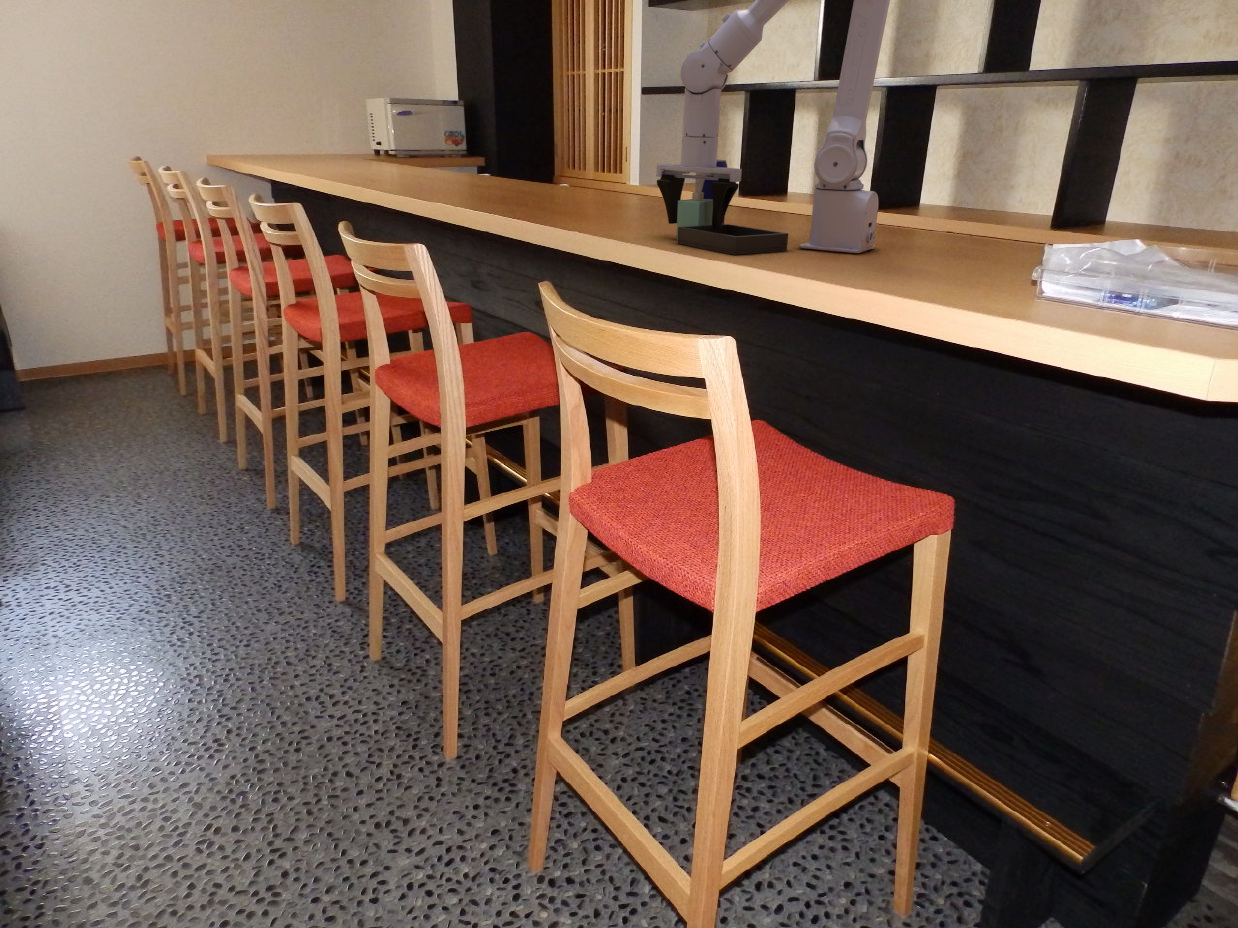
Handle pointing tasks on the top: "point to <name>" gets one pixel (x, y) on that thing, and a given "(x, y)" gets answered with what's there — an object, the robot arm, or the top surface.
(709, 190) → the energy drink
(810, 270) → the top surface
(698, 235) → the tray
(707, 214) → the detergent bottle
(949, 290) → the top surface
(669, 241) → the top surface
